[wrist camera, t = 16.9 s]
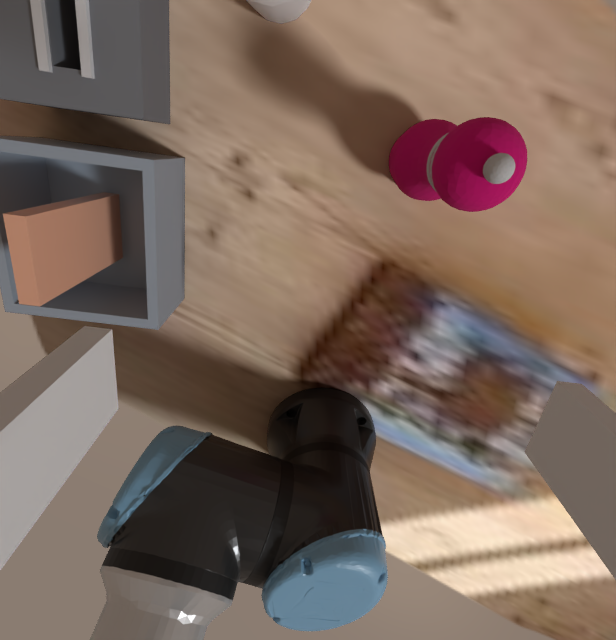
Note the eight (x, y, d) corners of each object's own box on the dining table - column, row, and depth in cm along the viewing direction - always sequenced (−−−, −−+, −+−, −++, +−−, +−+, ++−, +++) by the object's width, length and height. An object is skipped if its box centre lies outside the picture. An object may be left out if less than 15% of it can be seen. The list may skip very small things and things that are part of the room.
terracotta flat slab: (122, 257, 44) (39, 306, 31) (108, 255, 44) (19, 303, 31) (119, 194, 42) (25, 216, 28) (103, 192, 42) (2, 213, 28)
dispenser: (170, 124, 40) (141, 119, 33) (50, 106, 39) (-5, 97, 32) (168, -53, 34) (133, -103, 27) (28, -76, 34) (-45, -134, 27)
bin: (184, 298, 47) (158, 329, 39) (58, 283, 47) (5, 311, 38) (184, 157, 41) (153, 160, 33) (39, 137, 40) (-31, 134, 32)
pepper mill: (376, 189, 42) (428, 219, 24) (394, 115, 39) (467, 86, 21) (440, 201, 43) (538, 240, 25) (461, 129, 40) (591, 113, 22)
